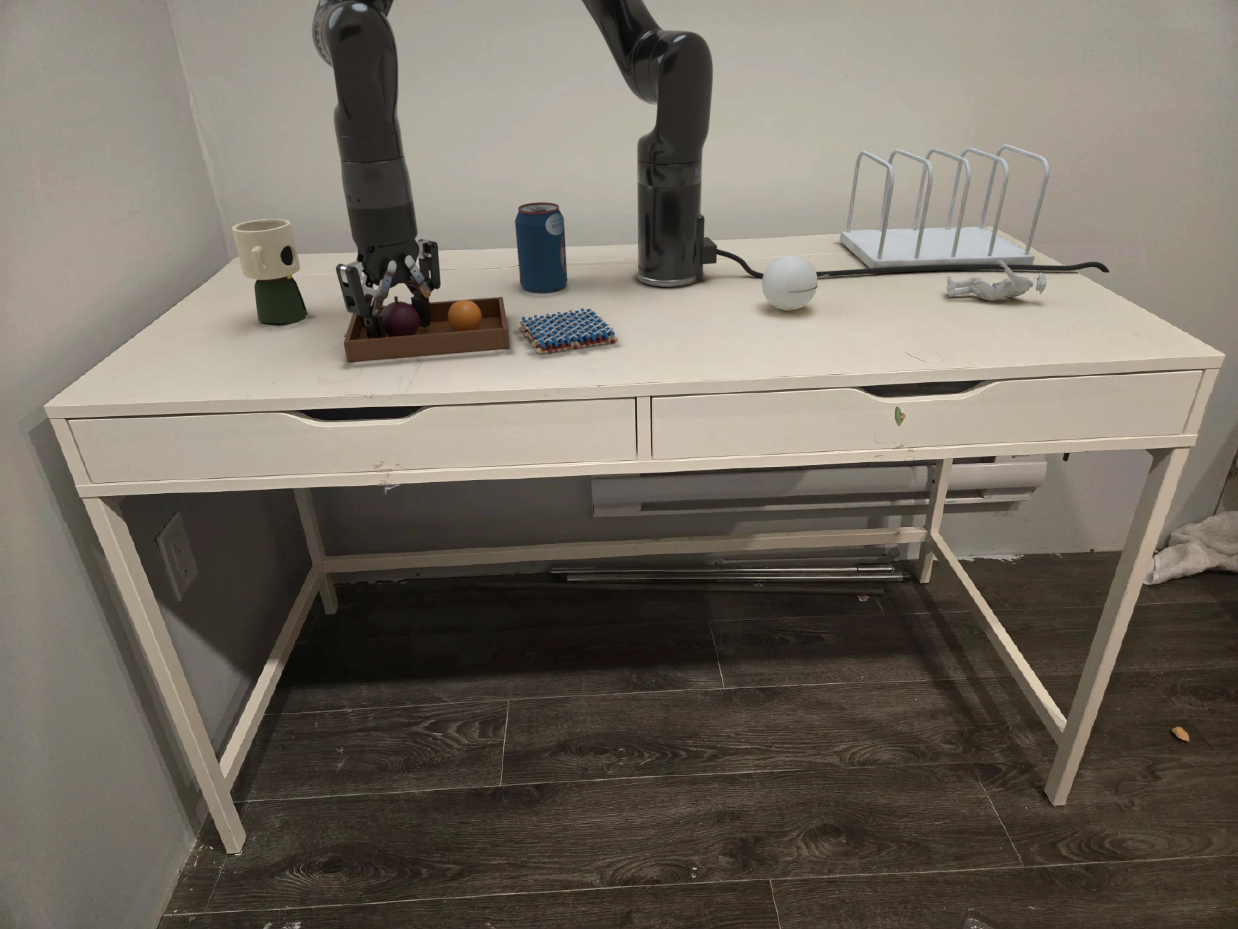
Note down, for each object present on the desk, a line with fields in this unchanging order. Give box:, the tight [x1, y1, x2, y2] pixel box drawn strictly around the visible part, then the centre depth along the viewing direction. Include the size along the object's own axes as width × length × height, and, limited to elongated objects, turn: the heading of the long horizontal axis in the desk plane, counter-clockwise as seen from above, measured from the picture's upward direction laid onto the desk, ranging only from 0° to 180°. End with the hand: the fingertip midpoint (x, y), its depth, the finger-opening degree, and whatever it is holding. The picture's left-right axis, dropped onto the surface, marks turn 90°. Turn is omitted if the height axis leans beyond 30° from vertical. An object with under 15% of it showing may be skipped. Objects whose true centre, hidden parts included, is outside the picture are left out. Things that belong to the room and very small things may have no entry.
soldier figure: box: [946, 260, 1048, 302], centre depth 111 cm, size 8×5×12 cm
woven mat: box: [518, 308, 619, 355], centre depth 102 cm, size 10×11×2 cm
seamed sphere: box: [761, 254, 829, 312], centre depth 109 cm, size 10×7×7 cm
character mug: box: [231, 218, 309, 325], centre depth 107 cm, size 11×7×13 cm, turn 7°
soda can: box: [514, 201, 568, 294], centre depth 117 cm, size 7×7×12 cm
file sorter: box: [839, 144, 1050, 269], centre depth 127 cm, size 25×17×16 cm
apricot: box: [448, 299, 482, 332], centre depth 103 cm, size 4×4×4 cm
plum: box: [381, 295, 420, 337], centre depth 101 cm, size 5×5×6 cm
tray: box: [343, 296, 511, 363], centre depth 102 cm, size 19×12×3 cm, turn 100°
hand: (401, 334), depth 102 cm, fingers open, 6 cm apart
